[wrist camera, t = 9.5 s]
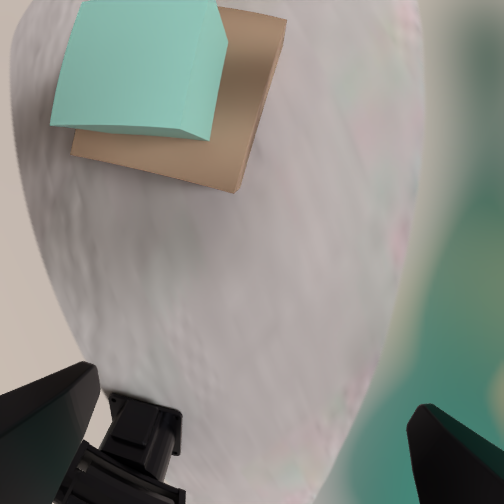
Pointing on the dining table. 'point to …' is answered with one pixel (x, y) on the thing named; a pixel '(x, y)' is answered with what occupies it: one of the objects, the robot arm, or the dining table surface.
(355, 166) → the dining table surface
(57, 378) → the robot arm
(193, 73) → the teal cube
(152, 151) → the walnut block
